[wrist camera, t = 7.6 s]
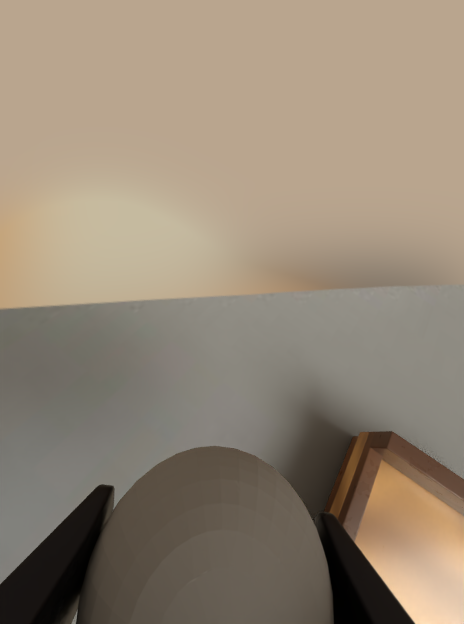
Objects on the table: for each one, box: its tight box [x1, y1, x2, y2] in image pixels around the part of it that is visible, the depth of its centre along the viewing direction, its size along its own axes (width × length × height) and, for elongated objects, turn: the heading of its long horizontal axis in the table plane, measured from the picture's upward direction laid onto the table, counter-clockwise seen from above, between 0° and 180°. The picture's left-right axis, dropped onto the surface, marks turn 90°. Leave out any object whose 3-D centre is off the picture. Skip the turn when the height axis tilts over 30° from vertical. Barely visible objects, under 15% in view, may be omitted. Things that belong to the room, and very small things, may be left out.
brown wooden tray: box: [324, 431, 464, 624], centre depth 16 cm, size 12×13×6 cm
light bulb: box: [76, 446, 334, 624], centre depth 9 cm, size 6×6×10 cm
